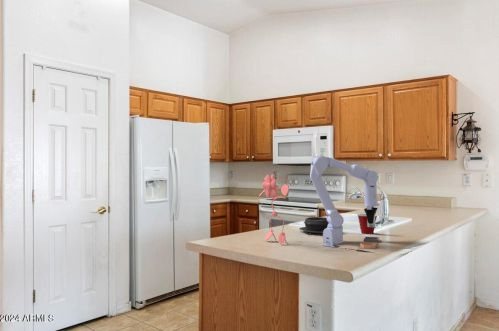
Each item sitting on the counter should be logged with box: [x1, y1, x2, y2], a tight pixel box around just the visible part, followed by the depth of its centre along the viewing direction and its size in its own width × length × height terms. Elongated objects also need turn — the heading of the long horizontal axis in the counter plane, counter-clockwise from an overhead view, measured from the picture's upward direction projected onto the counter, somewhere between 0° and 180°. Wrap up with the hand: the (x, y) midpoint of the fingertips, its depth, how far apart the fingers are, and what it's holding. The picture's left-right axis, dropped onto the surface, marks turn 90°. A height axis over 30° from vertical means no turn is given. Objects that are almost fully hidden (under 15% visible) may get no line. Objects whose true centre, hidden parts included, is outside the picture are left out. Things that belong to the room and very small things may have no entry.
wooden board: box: [357, 239, 382, 254], centre depth 179 cm, size 23×8×2 cm, turn 156°
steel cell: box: [367, 214, 376, 228], centre depth 186 cm, size 4×4×8 cm
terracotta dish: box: [359, 242, 376, 250], centre depth 172 cm, size 7×7×2 cm
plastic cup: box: [356, 213, 379, 235], centre depth 209 cm, size 11×11×12 cm
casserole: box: [299, 216, 329, 235], centre depth 222 cm, size 25×19×8 cm
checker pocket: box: [363, 236, 380, 243], centre depth 186 cm, size 7×7×2 cm
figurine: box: [258, 174, 290, 245], centre depth 193 cm, size 15×26×35 cm, turn 32°
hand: (371, 222), depth 186 cm, fingers closed on steel cell, 4 cm apart
